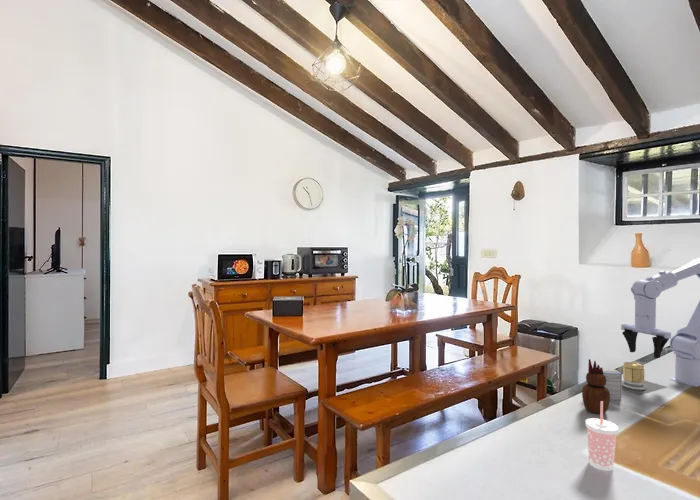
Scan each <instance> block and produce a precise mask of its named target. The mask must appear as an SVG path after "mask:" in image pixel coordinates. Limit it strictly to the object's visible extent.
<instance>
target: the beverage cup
mask: <svg viewBox="0 0 700 500" xmlns="http://www.w3.org/2000/svg"><path fill="white" fill-rule="evenodd" d="M599 414H600V415H599V416H600V417H599V418H596V417H592V418H591V417H590V418H587V419H585V421H584V422H585V427H586V434H587V453H588V464H589V465H590V466H591V467H593V468H595V469H596V470H599V471H603V472H606V471H607V472H609V471H610V472H611V471H613V470H614V469H615V468H614V467H615V457H616V456H615V455H616V443H617V434H618V433H619V426H618V425H617V424H616V423H614V422H612V421H609V420H606V419H604V413H603V401H601V405H600V413H599Z"/></svg>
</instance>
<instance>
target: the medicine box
mask: <svg viewBox="0 0 700 500" xmlns="http://www.w3.org/2000/svg"><path fill="white" fill-rule="evenodd" d="M602 369H603V374H604V375H605V377H606V385H605V387H606V388H607V389H608V390H609V392H610V400H616V401H617V400H618V401H620V400H621V401H622V390H621V388H622V381H623V373H621V372H620V371H618V370H617V369H615V368H602ZM588 372H589V368H588ZM588 372H587V373H588Z"/></svg>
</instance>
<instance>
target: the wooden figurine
mask: <svg viewBox="0 0 700 500" xmlns="http://www.w3.org/2000/svg"><path fill="white" fill-rule="evenodd" d="M593 361H594V362H593V365H592V361H591V359H588V369H589V372H587V373H586V375H585V379H586V380H585V381H586V383H585V384H584V385H582V389H581V391H582V392H581V395H582V401H583V405H584V408H585V409H586V410H587V411H589V412H591V413H594V414H600V405H601V401H603V414H605V413H606V412H607V411H608V409H609V406H610V402H611V401H610V400H611V399H610V392H609V390H608V389H607V388H606V387H605V385H606V377H605V375H604V374H603V369H604V368H603V367H600V364H597V362H596V360H593Z"/></svg>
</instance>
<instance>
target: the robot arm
mask: <svg viewBox="0 0 700 500" xmlns="http://www.w3.org/2000/svg"><path fill="white" fill-rule="evenodd" d="M695 275H696V277H697V278H698V279H699V280H700V257H697V258H695V259H692V260H691V259H690V262H688V263H687V264H684V265H682V266H680V267H678V268H677V269H674V270H673V271H669V270H660V271H658V273H657V274H655V275H652V276H647V277H646V279H638V280H636V281H635V282H634V283H632V286H631V287H630V291H631V293H632V295H633V299H634V324H627V323H621V326H620V327H621V328H620V330H622V336H624V338H625V340H626V342H627V346H628V349H629V352H630V353H635V352H636V351H637V350H636V349H637V338H638V333H640V334H644V335H650V336H652V338H651V339H652V342H653V343H652V344H653V358H654V359H660V358H661V355H662V352H663V349H664V347H665V346H666V344H667V343H668V341H669V346H670V349H671V350H672V351H673V354H674V355H675V356H674V357H675V359H674V362H675V364H674V366H675V367H674V369H675V370H674V371H675V372H674V377H670V378H669V381H673V382H677V383H681V384H684V385H688V386H692V387H695V388H696V387H697V388H698V387H700V300H699V301H698V303H697V305H696V307H695V308H694V311H693V313H692V315H691V316H690V319H689V320H688V323H687V325H686V326H685V327H682V328H680V329H678V330H677V331H676V333H675V334H674V335H673V336H672V332H671V331H666V330H663V329H658V328H656V327H657V326H656V325H657V324H656V322H657V319H656V318H657V316H656V313H657V310H656V309H657V307H656V306H657V298H658V297H659V296H661V293H662V292H665V291H666V290H669V289H671V288H674V287H676V286H677V285H678V284H679V283H678V282H680V281H681V280H682V281H683V280H684V279H687V278H690V277H692V276H695Z"/></svg>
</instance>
